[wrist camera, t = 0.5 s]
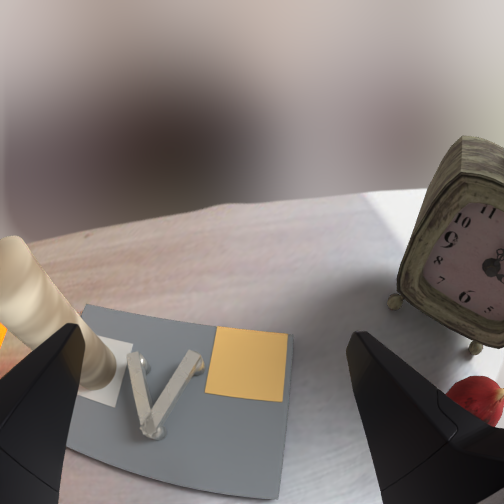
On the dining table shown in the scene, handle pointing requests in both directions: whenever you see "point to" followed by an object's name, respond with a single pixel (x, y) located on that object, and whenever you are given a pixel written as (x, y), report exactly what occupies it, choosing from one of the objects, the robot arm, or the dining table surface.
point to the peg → (45, 311)
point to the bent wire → (158, 413)
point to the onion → (479, 398)
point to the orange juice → (2, 333)
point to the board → (191, 405)
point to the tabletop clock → (460, 246)
